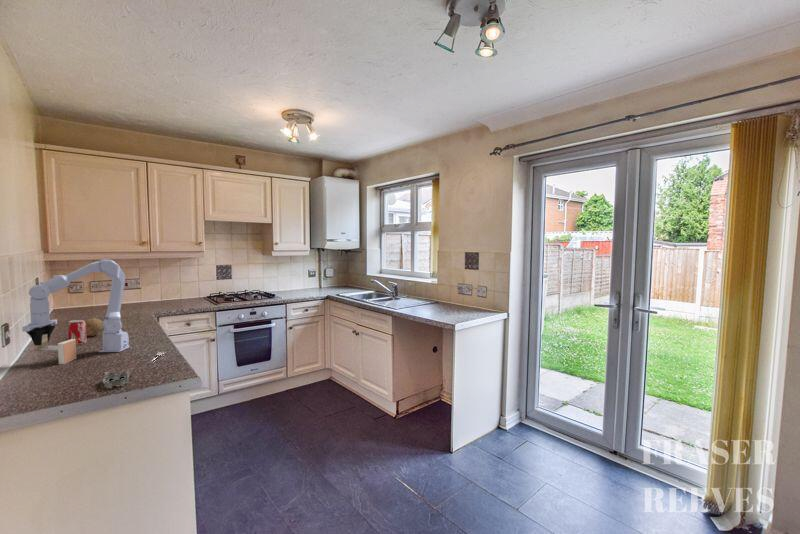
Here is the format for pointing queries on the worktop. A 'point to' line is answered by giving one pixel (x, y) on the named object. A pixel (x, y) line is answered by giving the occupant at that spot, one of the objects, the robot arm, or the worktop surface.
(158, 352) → the fork
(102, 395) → the worktop surface
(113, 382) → the egg carton
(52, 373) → the worktop surface
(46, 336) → the beige l-shaped block
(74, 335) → the red and white box
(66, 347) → the tile
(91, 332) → the natural sponge
